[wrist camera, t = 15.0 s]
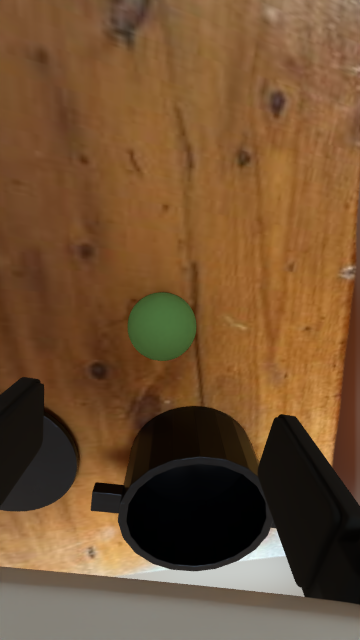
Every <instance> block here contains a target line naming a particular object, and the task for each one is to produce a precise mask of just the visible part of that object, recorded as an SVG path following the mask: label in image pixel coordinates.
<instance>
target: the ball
mask: <svg viewBox="0 0 360 640" xmlns="http://www.w3.org/2000/svg"><path fill="white" fill-rule="evenodd" d="M128 334H129V338H130V340H131V342H132V344H133V346H134V347H135V348H136V350H137V351H138V352H140V353H141V354H142V355H144V356H145V357H147V358H150V359H153V360H158V361H166V360H171V359H174V358H177V357H179V356H180V355H182V354H183V353H184V352H185V351H186V350H187V349H188V348H189V347H190V346H191V344H192V342H193V340H194V337H195V334H196V319H195V315H194V313H193V311H192V309H191V308H190V306H189V305H188V304H187V303H186V302H185V301H184V300H183V299H182V298H180V297H178V296H176V295H174V294H171V293H165V292H158V293H153V294H150V295H148V296H146V297H144V298H142V299H141V300H140V301H139V302H138V303H137V304H136V305H135V306H134V308H133V309H132V311H131V313H130V316H129V319H128Z"/></svg>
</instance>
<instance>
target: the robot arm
mask: <svg viewBox="0 0 360 640" xmlns="http://www.w3.org/2000/svg"><path fill="white" fill-rule="evenodd" d="M43 417H44V384H41V383H40V380H39V379H33V378H27V377H22V378H20V379H19V380H18V381H17V382H16V383H14V384H13V385H12V386H11V387H9V388H8V389H7V390H6V391H5V392H3V393H2V394H1V395H0V506H1V505H2V504H3V502H4V501H5V499H6V498H7V496H8V495H9V493H10V492H11V491H12V489H13V488H14V486H15V485H16V483H17V482H18V480H19V479H20V477H21V476H22V475H23V473H24V472H25V470H26V469H27V467H28V466H29V464H30V463H31V462H32V460H33V459H34V457H35V456H36V454H37V453H38V451H39V450H40V448H41V446H42V442H43ZM258 479H259V481H260V484H261V487H262V490H263V493H264V495H265V498H266V501H267V504H268V507H269V509H270V512H271V515H272V518H273V521H274V523H275V526H276V529H277V532H278V535H279V537H280V540H281V543H282V546H283V549H284V551H285V554H286V557H287V560H288V563H289V565H290V568H291V571H292V574H293V576H294V579H295V582H296V584H297V585H298V586H299V587H302V590H303V593H304V596H305V597H301V596H292V595H283V594H274V593H264V592H255V591H245V590H236V589H226V588H217V587H207V586H198V585H188V584H178V583H167V582H158V581H147V580H138V579H127V578H117V577H107V576H97V575H86V574H75V573H65V572H54V571H43V570H32V569H21V568H11V567H0V640H360V506H359V505H358V503H357V502H356V500H355V499H354V497H353V496H352V494H351V493H350V492H349V490H348V489H347V487H346V486H345V485H344V483H343V482H342V481H341V479H340V478H339V477H338V475H337V474H336V472H335V471H334V469H333V468H332V467H331V465H330V464H329V462H328V461H327V460H326V458H325V457H324V455H323V454H322V453H321V451H320V450H319V448H318V447H317V446H316V444H315V443H314V441H313V440H312V439H311V437H310V436H309V434H308V433H307V432H306V430H305V429H304V427H303V426H302V425H301V423H300V422H299V420H298V419H297V418H296V417H295V416H290V415H283V414H281V415H279V416H278V417H276V418H275V419H274V421H273V424H272V427H271V430H270V433H269V436H268V439H267V442H266V445H265V448H264V451H263V454H262V457H261V460H260V463H259V466H258Z"/></svg>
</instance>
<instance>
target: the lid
mask: <svg viewBox="0 0 360 640" xmlns="http://www.w3.org/2000/svg"><path fill="white" fill-rule="evenodd" d="M77 471H78V453H77V449H76V446H75V443H74V441H73V439H72V438H71V436H70V434H69V433H68V432H67V430H66V429H65V428H64V427H63V426H62V425H61V424H60V423H59V422H58V421H57V420H56V419H55V418H53V417H52V416H51V415H49V414H48V413H46V412H44V417H43V442H42V446H41V448H40V450H39V451H38V453H37V454H36V456H35V457H34V459H33V460H32V462H31V463H30V464H29V466H28V467H27V469H26V470H25V472H24V473H23V475H22V476H21V477H20V479H19V480H18V482H17V483H16V485H15V486H14V488H13V489H12V491H11V492H10V493H9V495H8V496H7V498H6V499H5V501H4V502H3V504H2V505H1V506H0V510H4V511H29V510H35V509H39V508H42V507H45V506H48V505H50V504H52V503H54V502H55V501H57V500H58V499H60V498H61V497H62V496H63V495H64V494H65V493H66V492H67V491H68V490H69V488H70V487H71V485H72V484H73V482H74V480H75V477H76V474H77Z"/></svg>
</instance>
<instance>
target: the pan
mask: <svg viewBox="0 0 360 640" xmlns="http://www.w3.org/2000/svg"><path fill="white" fill-rule="evenodd" d="M258 466H259V461H258V459H257V456H256V454H255V452H254V449H253V447H252V444H251V442H250V440H249V438H248V436H247V434H246V432H245V431H244V429H243V428H242V427H241V426H240V424H239V423H238V422H236V421H235V420H234V419H233V418H231V417H230V416H228V415H227V414H225V413H222V412H220V411H218V410H214V409H211V408H206V407H196V406H192V407H181V408H176V409H173V410H169V411H167V412H164V413H162V414H160V415H158V416H156V417H155V418H153V419H152V420H151V421H149V422H148V423H147V424H146V425H145V426H144V427H143V428H142V429H141V431H140V432H139V433H138V435H137V437H136V438H135V441H134V443H133V446H132V448H131V453H130V458H129V463H128V467H127V472H126V477H125V482H124V485H117V484H107V483H97V482H96V483H95V486H94V489H93V492H92V502H91V511H99V512H110V513H119V515H118V523H119V526H120V530H121V533H122V536H123V538H124V540H125V541H126V542H127V543H128V544H129V546H130V547H131V548H132V549H133V551H134V552H135V553H137V554H138V555H140V556H141V557H143V558H144V559H146V560H148V561H149V562H151V563H152V564H155V565H159V566H162V567H165V568H168V569H173V570H186V571H202V570H208V569H216V568H219V567H222V566H225V565H228V564H230V563H233V562H236V561H238V560H240V559H241V558H243V557H245V556H246V555H248V554H249V553H251V552H252V551H254V550H255V549H256V548H257V547H258V546H259V545H260V544H261V542H262V541H263V540H264V539H265V538H266V537H267V535H268V533H269V531H270V528H276V526H275V523H274V521H273V518H272V515H271V512H270V509H269V507H268V504H267V501H266V498H265V495H264V493H263V490H262V487H261V484H260V481H259V479H258Z"/></svg>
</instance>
